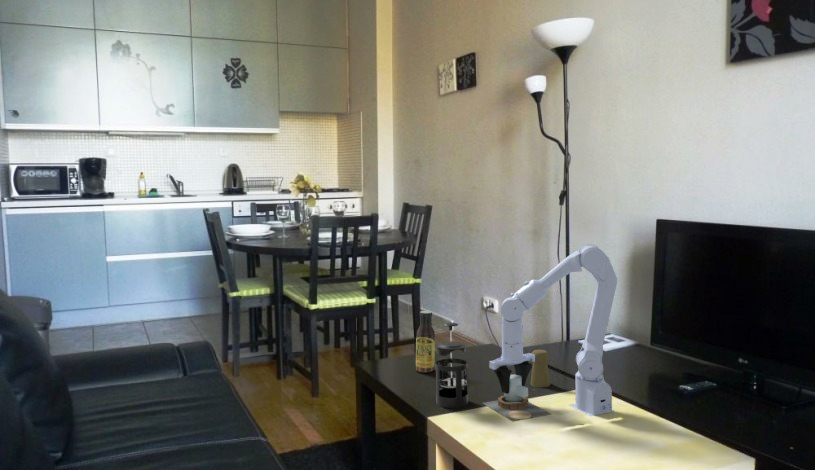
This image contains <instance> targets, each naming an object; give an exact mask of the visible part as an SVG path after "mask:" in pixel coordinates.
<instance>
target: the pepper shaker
mask: <svg viewBox="0 0 815 470" xmlns="http://www.w3.org/2000/svg"><path fill="white" fill-rule="evenodd" d="M531 354H535V361H534V362H532V369H531V377H530V386H532V387H536V388H548V387H550V386H551V379H550V372H549V368H548V367H549V366H548V361H549V359H550V355H549V352H548V351H547V350H545V349H534V350H533V351H532V352H531Z"/></svg>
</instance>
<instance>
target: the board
mask: <svg viewBox="0 0 815 470" xmlns="http://www.w3.org/2000/svg"><path fill="white" fill-rule="evenodd" d="M482 404H483V405H484V406H486V407H487V408H489V409H490V410H492V411H494V412H495V413H497V414H499V415H501V416H502V417H504V418H506V419H508V420H509V421H511V422H518V421H523V420H530V419H533V418H540V417H544V416H546V417H547V416H549V415H550V416H551V415H552V413H551V412H549V411H547V410H545V409H543V408H541V407H539V406H537V405H535V404H534V403H532V402H530V401H529V398H528V397H524V398H523V397H522V400H520V401H507V400H505V399H504V394H503V395H501V396H499V397H498V398H497V399H495V400H490V401H484V402H482Z"/></svg>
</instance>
